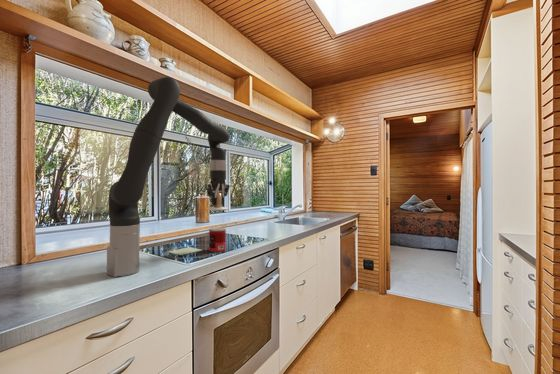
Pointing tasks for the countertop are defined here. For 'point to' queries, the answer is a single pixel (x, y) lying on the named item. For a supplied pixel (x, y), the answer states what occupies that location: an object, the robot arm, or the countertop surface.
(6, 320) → the countertop surface
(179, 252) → the mat
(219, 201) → the lid
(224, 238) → the canned food
